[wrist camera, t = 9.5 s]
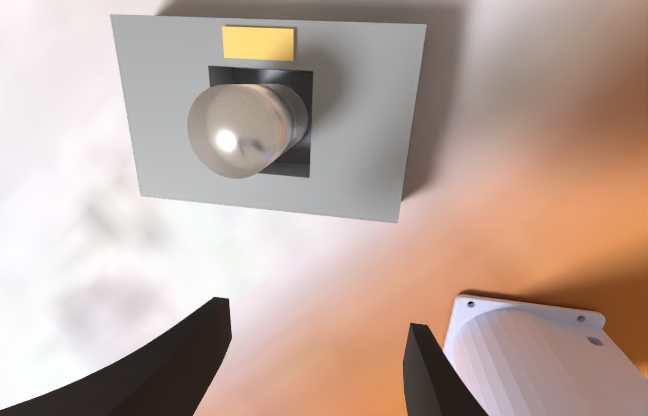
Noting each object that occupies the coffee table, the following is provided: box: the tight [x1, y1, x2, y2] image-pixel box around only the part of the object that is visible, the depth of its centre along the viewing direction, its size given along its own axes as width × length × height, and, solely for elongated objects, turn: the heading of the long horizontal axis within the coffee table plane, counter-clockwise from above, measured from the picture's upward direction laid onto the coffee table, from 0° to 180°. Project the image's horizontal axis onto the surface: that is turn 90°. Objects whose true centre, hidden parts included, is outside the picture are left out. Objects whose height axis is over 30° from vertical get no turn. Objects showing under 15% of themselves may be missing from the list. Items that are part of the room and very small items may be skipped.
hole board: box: [110, 14, 427, 223], centre depth 19 cm, size 16×10×3 cm, turn 87°
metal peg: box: [187, 84, 308, 179], centre depth 17 cm, size 4×4×7 cm
